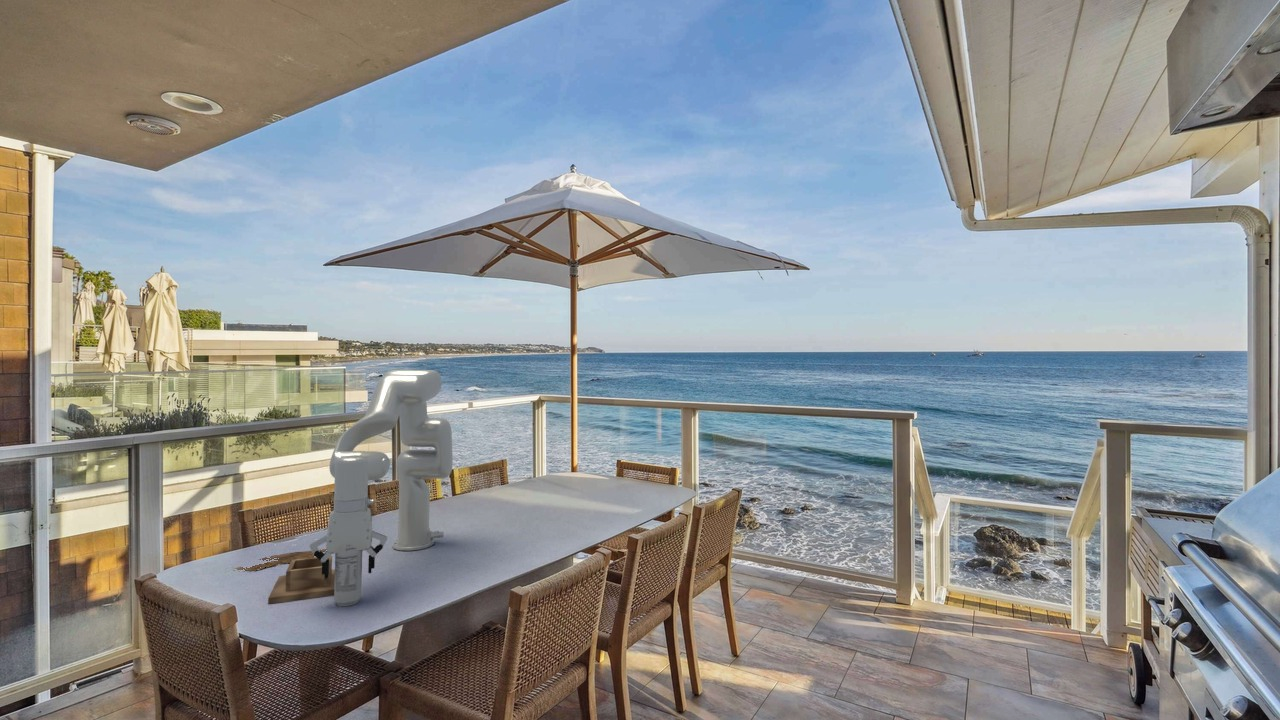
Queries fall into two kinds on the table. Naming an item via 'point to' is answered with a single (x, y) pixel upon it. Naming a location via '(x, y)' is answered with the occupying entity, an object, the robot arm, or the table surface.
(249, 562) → the table surface
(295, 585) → the slotted stand
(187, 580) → the table surface
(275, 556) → the wooden fragment
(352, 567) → the energy drink can
